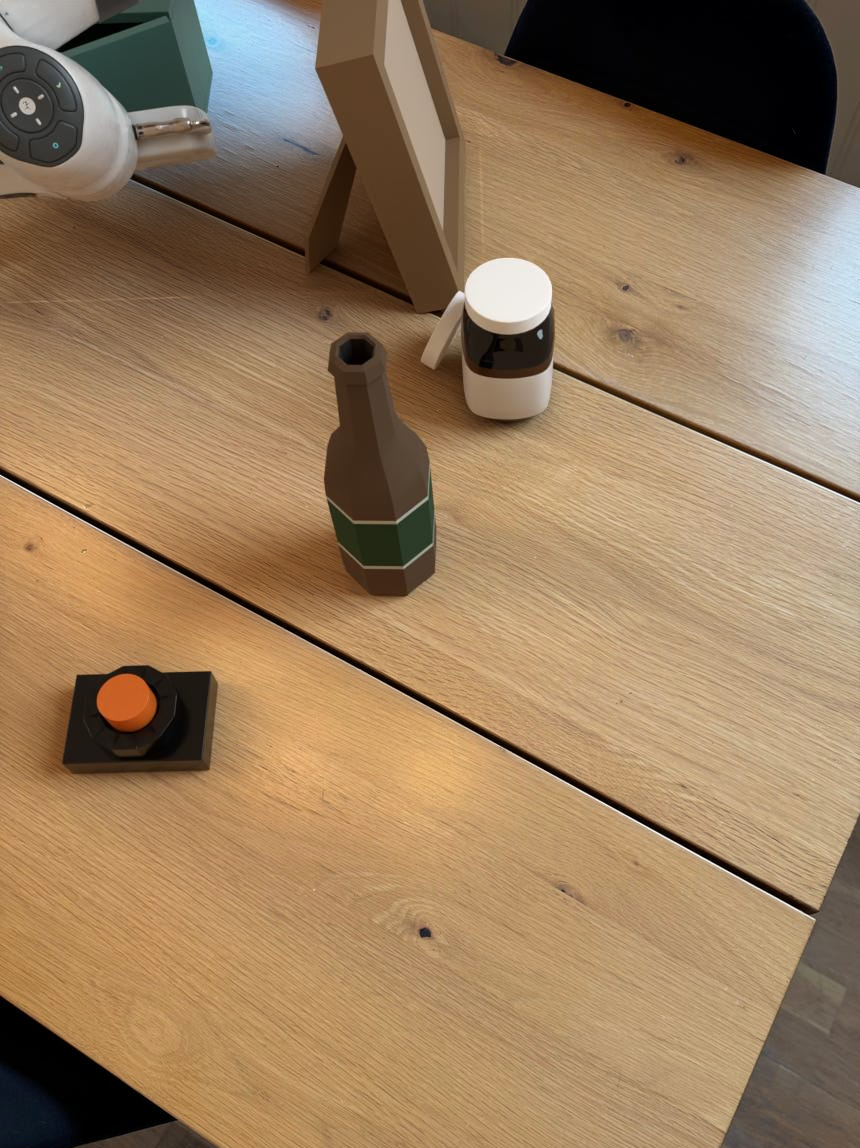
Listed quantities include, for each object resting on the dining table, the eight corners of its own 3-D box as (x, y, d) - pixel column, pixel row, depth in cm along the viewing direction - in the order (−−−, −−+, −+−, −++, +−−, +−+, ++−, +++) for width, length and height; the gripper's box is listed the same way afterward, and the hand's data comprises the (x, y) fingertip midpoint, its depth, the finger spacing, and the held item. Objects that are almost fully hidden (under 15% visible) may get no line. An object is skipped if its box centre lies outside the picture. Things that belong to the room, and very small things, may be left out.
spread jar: (553, 434, 90) (560, 337, 79) (420, 436, 90) (410, 340, 79) (548, 327, 95) (554, 224, 85) (423, 329, 95) (413, 226, 85)
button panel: (72, 774, 76) (51, 754, 73) (86, 686, 80) (67, 663, 76) (209, 770, 76) (195, 750, 73) (218, 682, 80) (205, 659, 76)
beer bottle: (421, 506, 86) (395, 287, 65) (454, 582, 83) (439, 377, 62) (331, 536, 85) (274, 322, 64) (361, 614, 82) (312, 417, 61)
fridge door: (228, 176, 104) (195, 55, 93) (105, 225, 102) (56, 107, 90) (201, 137, 107) (165, 15, 96) (80, 184, 104) (29, 63, 93)
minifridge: (204, 136, 107) (168, 11, 96) (77, 140, 107) (25, 15, 96) (213, 73, 112) (180, -54, 100) (91, 76, 112) (44, -50, 100)
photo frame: (465, 150, 106) (456, -123, 83) (463, 313, 96) (453, 53, 74) (318, 152, 106) (270, -120, 84) (301, 315, 96) (242, 56, 74)
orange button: (103, 732, 74) (93, 721, 72) (110, 686, 76) (100, 674, 74) (154, 731, 74) (145, 720, 72) (160, 684, 76) (151, 672, 74)
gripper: (199, 76, 83) (214, 106, 96) (-65, 114, 82) (-13, 139, 95) (218, 162, 86) (230, 180, 99) (-39, 201, 84) (8, 214, 97)
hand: (109, 160), depth 97 cm, fingers open, 3 cm apart
